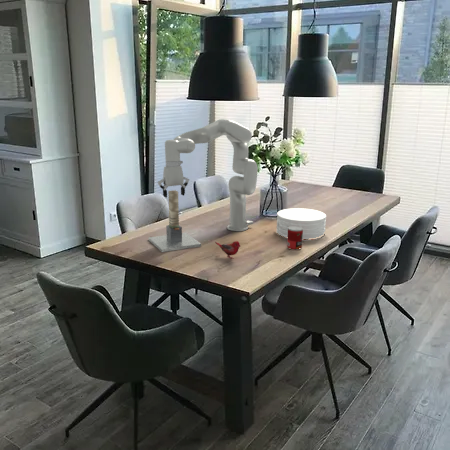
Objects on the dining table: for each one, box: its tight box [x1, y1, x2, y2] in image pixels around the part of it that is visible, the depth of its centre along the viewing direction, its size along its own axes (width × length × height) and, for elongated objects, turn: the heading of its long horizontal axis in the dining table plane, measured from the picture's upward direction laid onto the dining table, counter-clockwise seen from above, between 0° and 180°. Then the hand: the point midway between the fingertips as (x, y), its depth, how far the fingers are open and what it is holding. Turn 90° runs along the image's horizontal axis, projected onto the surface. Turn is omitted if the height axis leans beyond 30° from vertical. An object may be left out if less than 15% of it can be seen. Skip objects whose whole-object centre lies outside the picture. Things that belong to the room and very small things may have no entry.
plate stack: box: [275, 207, 327, 239], centre depth 290 cm, size 28×28×12 cm
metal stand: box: [148, 224, 202, 253], centre depth 270 cm, size 22×22×10 cm
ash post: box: [167, 189, 180, 228], centre depth 266 cm, size 4×4×20 cm
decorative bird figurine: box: [214, 240, 241, 259], centre depth 249 cm, size 3×18×10 cm, turn 47°
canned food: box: [286, 226, 303, 250], centre depth 264 cm, size 8×8×11 cm
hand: (174, 196), depth 264 cm, fingers open, 9 cm apart
